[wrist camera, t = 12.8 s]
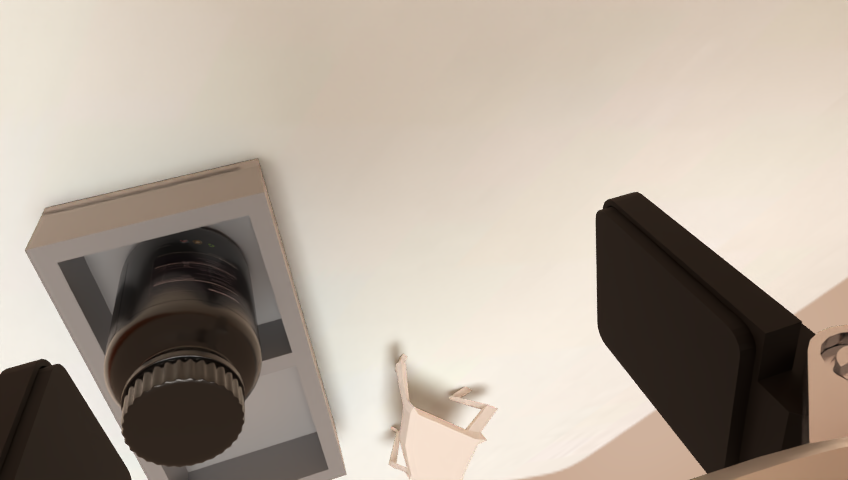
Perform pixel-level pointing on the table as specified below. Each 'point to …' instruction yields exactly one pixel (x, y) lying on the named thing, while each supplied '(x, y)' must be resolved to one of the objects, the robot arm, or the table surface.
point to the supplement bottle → (183, 347)
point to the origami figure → (435, 437)
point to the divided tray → (273, 295)
